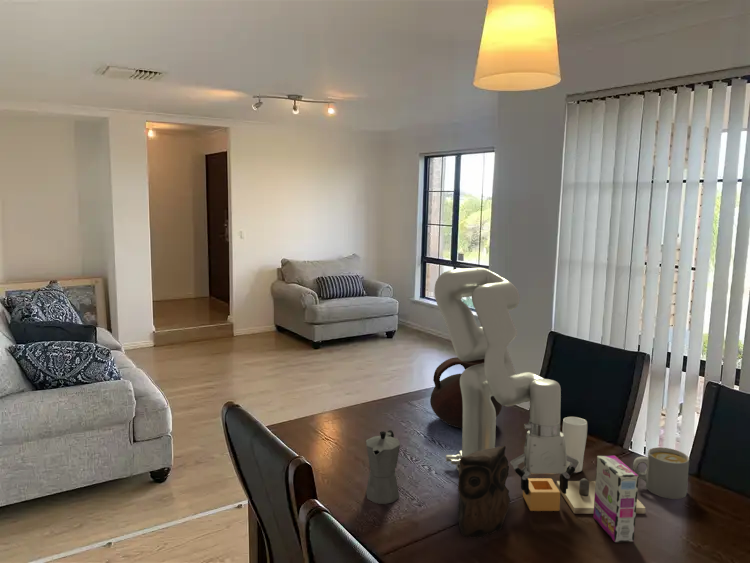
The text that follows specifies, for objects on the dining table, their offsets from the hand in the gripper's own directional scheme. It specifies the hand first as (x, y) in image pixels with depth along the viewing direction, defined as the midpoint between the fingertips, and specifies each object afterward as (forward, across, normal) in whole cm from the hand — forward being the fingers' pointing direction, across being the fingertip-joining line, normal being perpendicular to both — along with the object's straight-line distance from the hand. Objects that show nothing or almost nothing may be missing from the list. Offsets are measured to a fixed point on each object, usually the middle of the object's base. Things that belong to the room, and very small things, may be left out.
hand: (544, 491), depth 147 cm
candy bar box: (+4, +13, -11) cm, 18 cm away
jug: (+2, -12, +56) cm, 57 cm away
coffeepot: (+3, -42, +6) cm, 42 cm away
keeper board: (+4, +15, +3) cm, 16 cm away
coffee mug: (+4, +34, +9) cm, 36 cm away
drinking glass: (+4, +14, +20) cm, 25 cm away
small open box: (+4, -1, +1) cm, 4 cm away
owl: (+4, -19, -8) cm, 21 cm away
